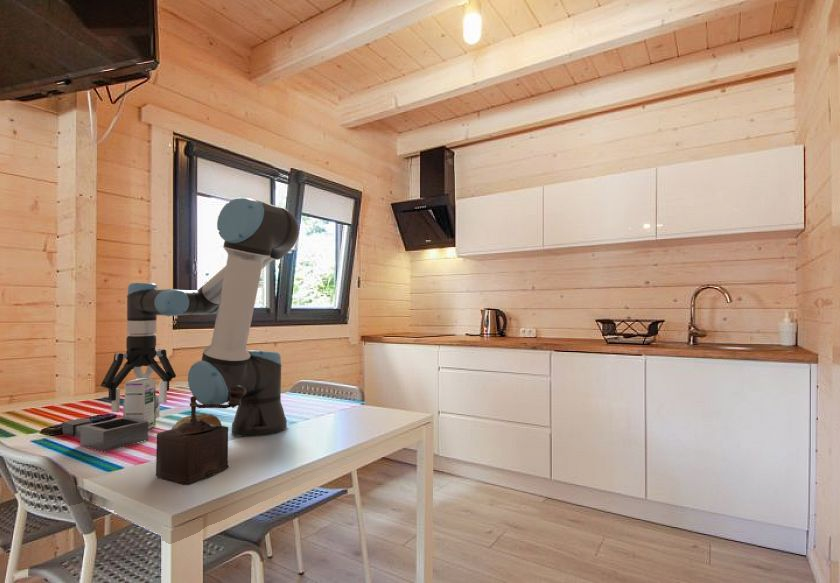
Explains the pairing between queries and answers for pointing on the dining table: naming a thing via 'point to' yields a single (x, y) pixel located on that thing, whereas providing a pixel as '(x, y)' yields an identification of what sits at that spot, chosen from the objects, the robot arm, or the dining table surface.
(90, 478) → the dining table surface
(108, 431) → the grey storage bin
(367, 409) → the dining table surface
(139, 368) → the engine component
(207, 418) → the bread roll
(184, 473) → the coffee grinder
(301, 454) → the dining table surface
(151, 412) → the syrup box
